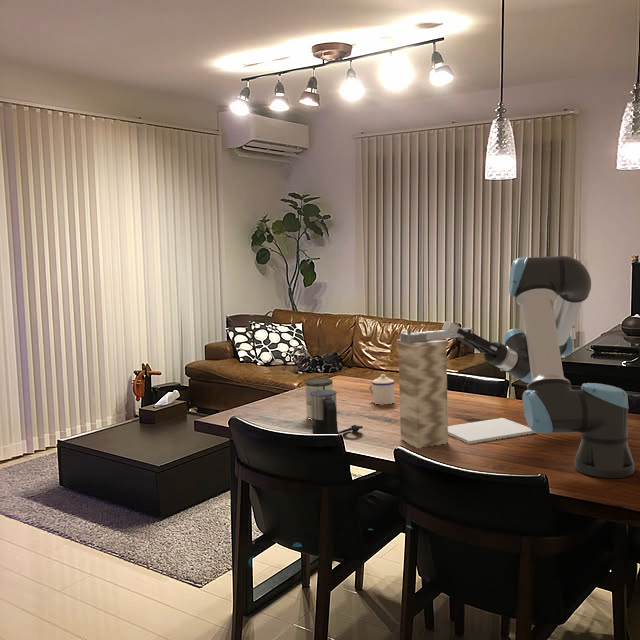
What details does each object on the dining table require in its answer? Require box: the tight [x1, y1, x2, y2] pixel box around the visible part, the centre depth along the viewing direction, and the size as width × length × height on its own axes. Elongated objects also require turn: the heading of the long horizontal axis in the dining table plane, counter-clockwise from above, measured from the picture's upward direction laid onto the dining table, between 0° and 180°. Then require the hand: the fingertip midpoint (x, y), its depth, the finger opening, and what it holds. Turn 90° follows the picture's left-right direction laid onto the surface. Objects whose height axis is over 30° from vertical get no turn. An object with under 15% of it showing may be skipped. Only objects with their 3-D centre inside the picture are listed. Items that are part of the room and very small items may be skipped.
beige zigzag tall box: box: [395, 339, 450, 449], centre depth 214 cm, size 12×12×33 cm
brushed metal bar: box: [399, 327, 473, 343], centre depth 214 cm, size 24×6×4 cm, turn 111°
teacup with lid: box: [368, 373, 396, 405], centre depth 271 cm, size 12×9×12 cm
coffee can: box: [304, 377, 334, 419], centre depth 250 cm, size 10×10×14 cm
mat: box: [448, 417, 537, 445], centre depth 224 cm, size 26×18×1 cm
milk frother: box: [310, 389, 364, 435], centre depth 227 cm, size 14×16×15 cm
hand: (446, 325), depth 215 cm, fingers closed on brushed metal bar, 2 cm apart
